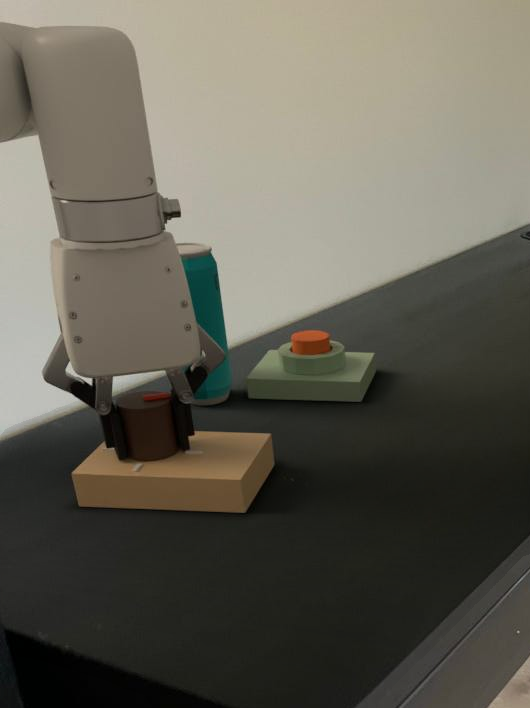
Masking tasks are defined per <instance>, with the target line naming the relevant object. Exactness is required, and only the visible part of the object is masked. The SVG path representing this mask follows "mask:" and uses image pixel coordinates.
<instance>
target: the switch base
mask: <svg viewBox="0 0 530 708" xmlns="http://www.w3.org/2000/svg"><path fill="white" fill-rule="evenodd" d="M376 364H377V363H376V353H375V352H360V351H358V352H357V351H346V347H345V345H344V344H342V343H341V342H339V341H335V340H331V339H330V352H327V353H324V354H317V355H300V354H295V353H293V350H292V341H290V342H287V343H284V344H281V345H280V347H279V348H278V349H269V350H268V351H267V353H266V354H265V355H264V356H263V357H262V358H261V360H260V361H259V362H258V363H257V364H256V365H255V367H254V368H253V369H252V371H251V372H250V373H249V374H248V376H247V377H246V378H245V381H246V390H247V397H248V399H252V400H257V399H258V400H287V401H317V402H318V401H319V402H347V403H349V402H350V403H361V402H362V401H363V399H364V397H365V395H366V393H367V391H368V389H369V386H370V384H371V383H372V381H373V380H374V379H373V378H374V376H375V375H376V372H377V368H376V367H377V366H376Z"/></svg>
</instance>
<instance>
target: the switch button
mask: <svg viewBox="0 0 530 708" xmlns="http://www.w3.org/2000/svg"><path fill="white" fill-rule="evenodd" d="M290 338H291V342H292V350H293V353H295V354H300V355H317V354H324V353H327V352H330V340H331V339H330V334H329V333H328V332H326V331H322V330H301V331H297V332H295V333H292V334H291V337H290Z"/></svg>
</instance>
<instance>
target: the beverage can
mask: <svg viewBox="0 0 530 708" xmlns="http://www.w3.org/2000/svg"><path fill="white" fill-rule="evenodd" d="M175 243H176V245H177V248H178V251H179V254H180V257H181V261H182V264H183V268H184V272H185V275H186V279H187V283H188V287H189V291H190V296H191V300H192V305H193V309H194V314H195V319H196V322H197V323H198V324H199V326H200V327H201V328H202V329H203V330H204V331H205V332H206V333H207V334H208V335H209V336H210V337H211V338H212V339H213V340H214V341H215V342H216V343H217V345H218V346H219V347H220V348H221V349H222V350H223V351H224V352H225V354H226V359H225V361H224V362H223V363H221V364H220V365H219V366H218V367H217V368H216V369H215V370H214V371H213V372H212V373H210V374H209V375H208V377H207V379H206V380H205V381H204V383H203V384H202V385H201V386H200V388H199V389H198V390H197V392H196V393H195V394H194V398H193V401H192V402H190V405H192V406H213V405H218V404H221V403H223V402H225V401H227V399H228V398H229V396H230V393H231V389H232V384H233V375H232V367H231V362H230V354H229V346H228V338H227V330H226V325H225V324H226V323H225V316H224V309H223V301H222V292H221V284H220V277H219V271H218V269H219V268H218V263H217V261H216V259H215V257H214V255H213V253H212V252H213V248H212V246H211V245H209V244H206V243H201V242H178V243H177V242H175ZM201 355H202V349H201V348H200V356H201ZM189 366H190V365H189ZM189 366H186V367H183V368H182V369H183V371H184V372H185V371H186V370H187V369H188V367H189Z"/></svg>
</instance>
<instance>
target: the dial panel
mask: <svg viewBox="0 0 530 708" xmlns="http://www.w3.org/2000/svg"><path fill="white" fill-rule="evenodd" d="M194 431H195V435H194V436H188V438H189V444H190V450H183V449H181V448H180V446H179V451H178V452H177V453H176V454H174V455H173V456H170V457H168V458H164V459H160V460H154V461H138V460H133V459H130V458H126V460H120V461H119V459H118V457H117V454H116V452H115V449H114V448H108V449H107V448H106V445H105V441H104V440H103V442H102V443H101V444H100V445H99V446H98V447H96V449H94V450H93V452H92V453H90V454H89V456H88V457H86V458H85V459H84V460H83V461H82V462H81V464H79V465H78V466H77V467H76V468H75V469H74V470H73V471H72V472H71V479H72V482H73V487H74V490H75V494H76V495H75V496H76V499H77V504H78V507H83V508H105V509H106V508H107V509H130V510H131V509H133V510H158V511H159V510H160V511H161V510H162V511H181V512H182V511H185V512H212V513H215V512H216V513H238V514H244V513H247V511H248V509H249V507H250V506H251V504H252V503H253V501H254V499H255V498H256V496H257V494H258V493H259V491H260V490H261V488H262V486H263V485H264V483H265V482H266V480H267V478H268V477H269V474H270V473H271V472H272V470H273V469H274V467H275V457H274V447H273V439H272V433H264V432H263V433H261V432H233V431H232V432H231V431H229V432H228V431H203V430H202V431H199V430H194Z"/></svg>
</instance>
